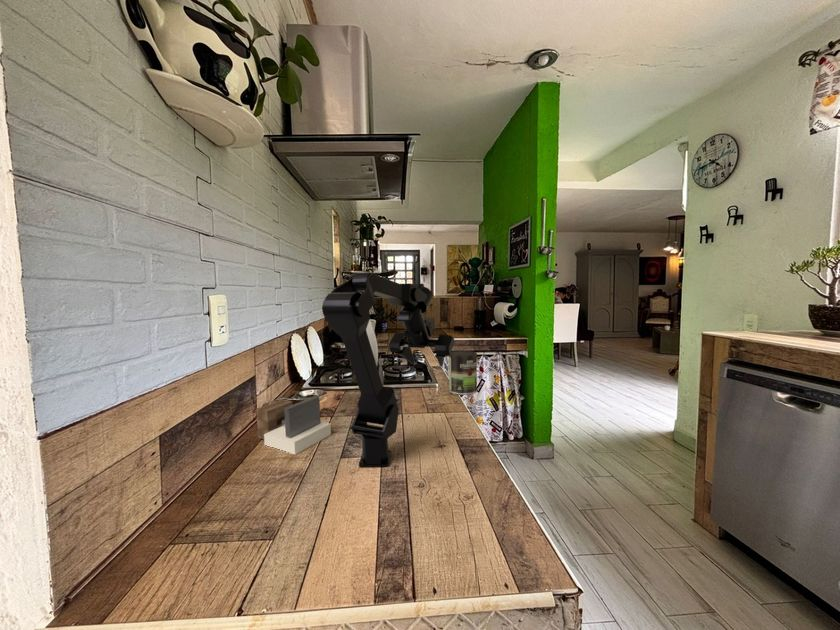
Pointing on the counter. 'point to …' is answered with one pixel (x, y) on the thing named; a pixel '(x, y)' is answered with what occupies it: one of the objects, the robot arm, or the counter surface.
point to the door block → (297, 438)
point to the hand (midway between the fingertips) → (427, 364)
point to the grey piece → (301, 416)
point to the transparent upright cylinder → (463, 372)
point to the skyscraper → (374, 345)
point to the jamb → (271, 416)
